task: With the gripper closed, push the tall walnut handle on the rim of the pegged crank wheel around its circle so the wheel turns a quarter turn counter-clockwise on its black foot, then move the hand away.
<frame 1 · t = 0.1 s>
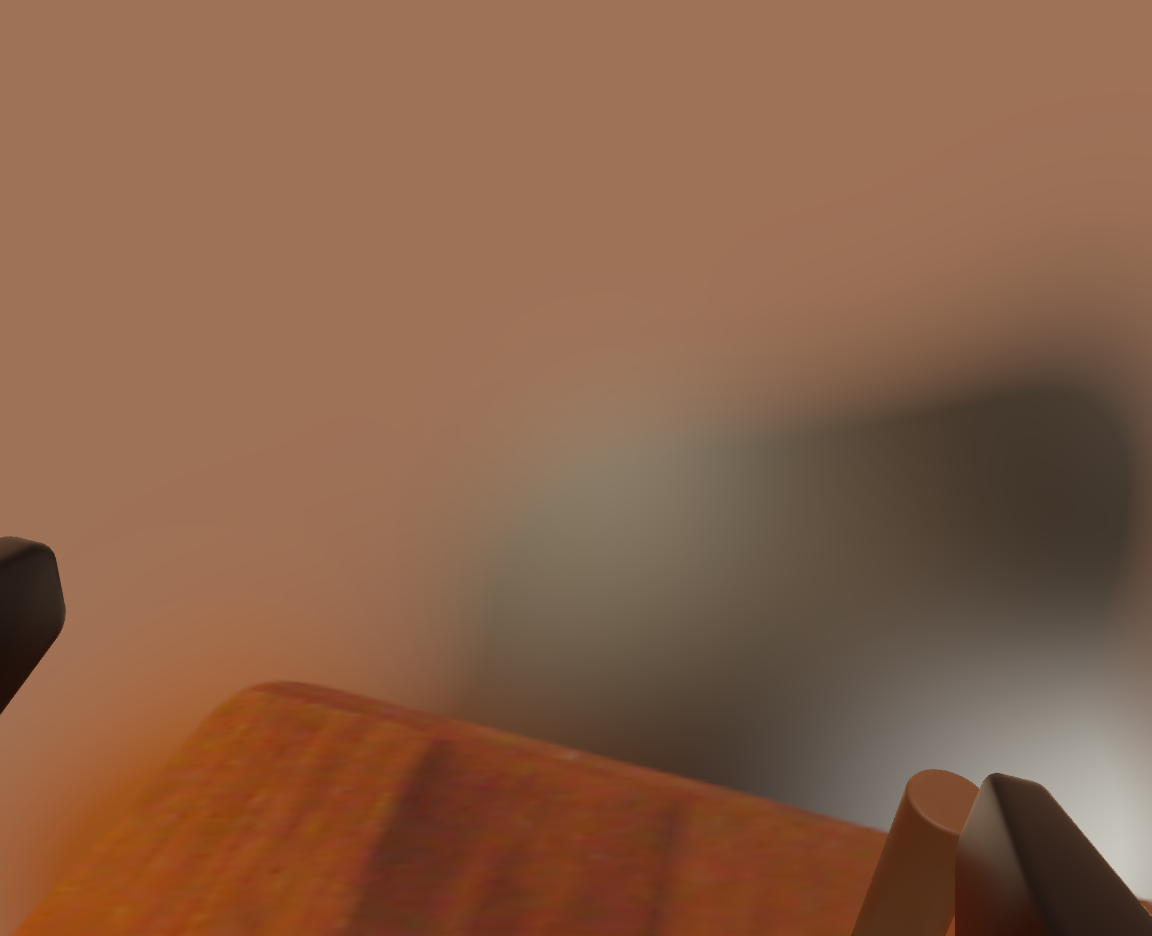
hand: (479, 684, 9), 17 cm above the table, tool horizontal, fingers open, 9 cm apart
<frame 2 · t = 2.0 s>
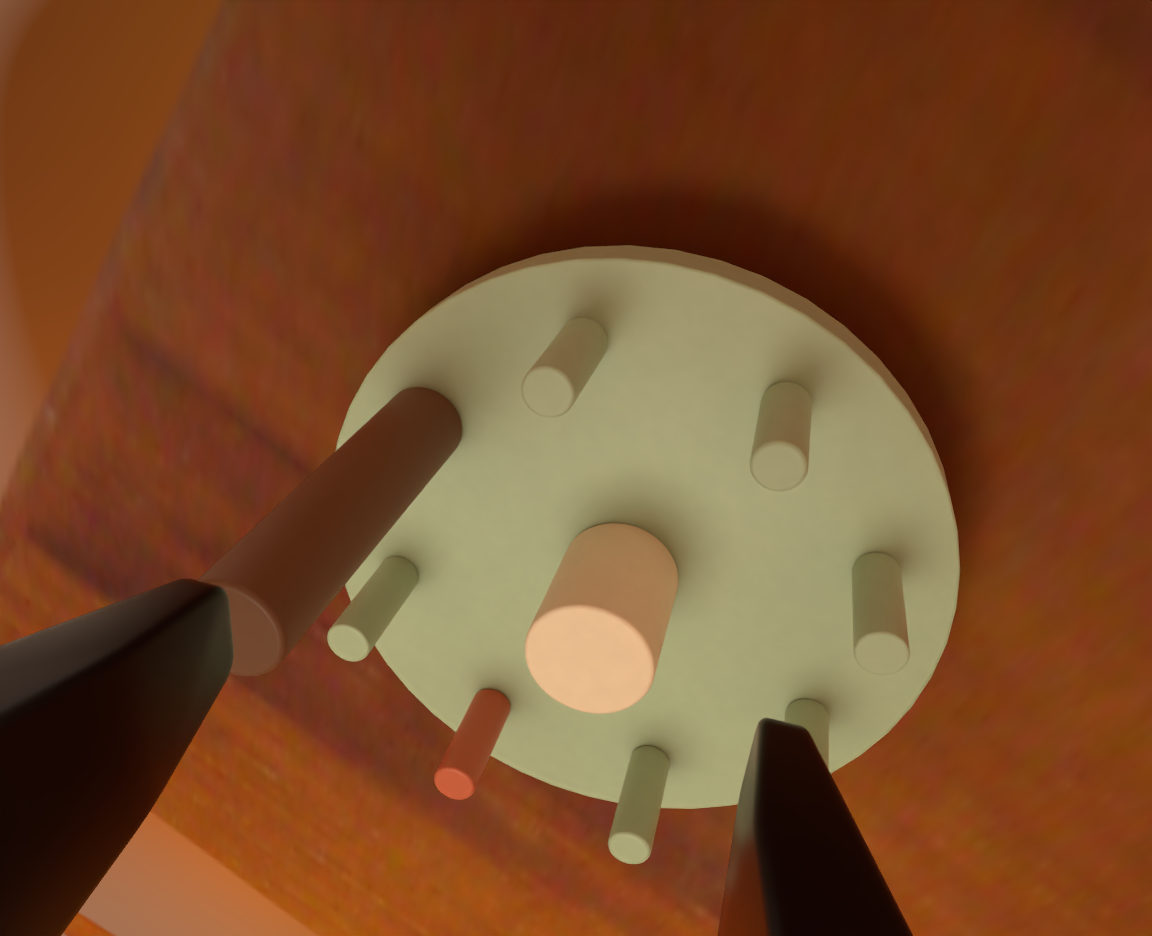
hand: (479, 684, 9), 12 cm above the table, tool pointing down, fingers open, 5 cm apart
pegged crank wheel: (587, 664, 17), point 5 cm above the table, hinge at 0.0°
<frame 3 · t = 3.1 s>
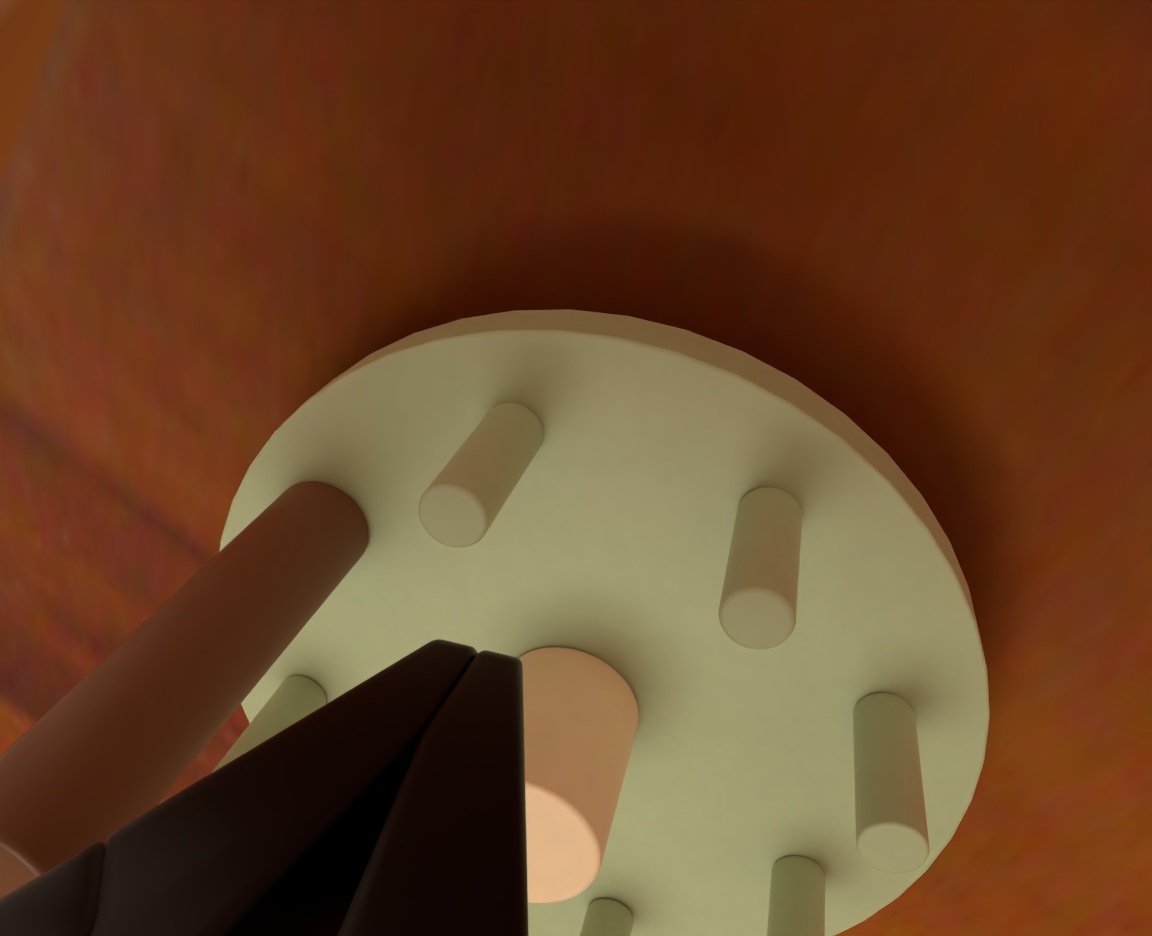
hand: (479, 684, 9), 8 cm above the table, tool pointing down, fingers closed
pegged crank wheel: (515, 848, 13), point 5 cm above the table, hinge at 0.0°
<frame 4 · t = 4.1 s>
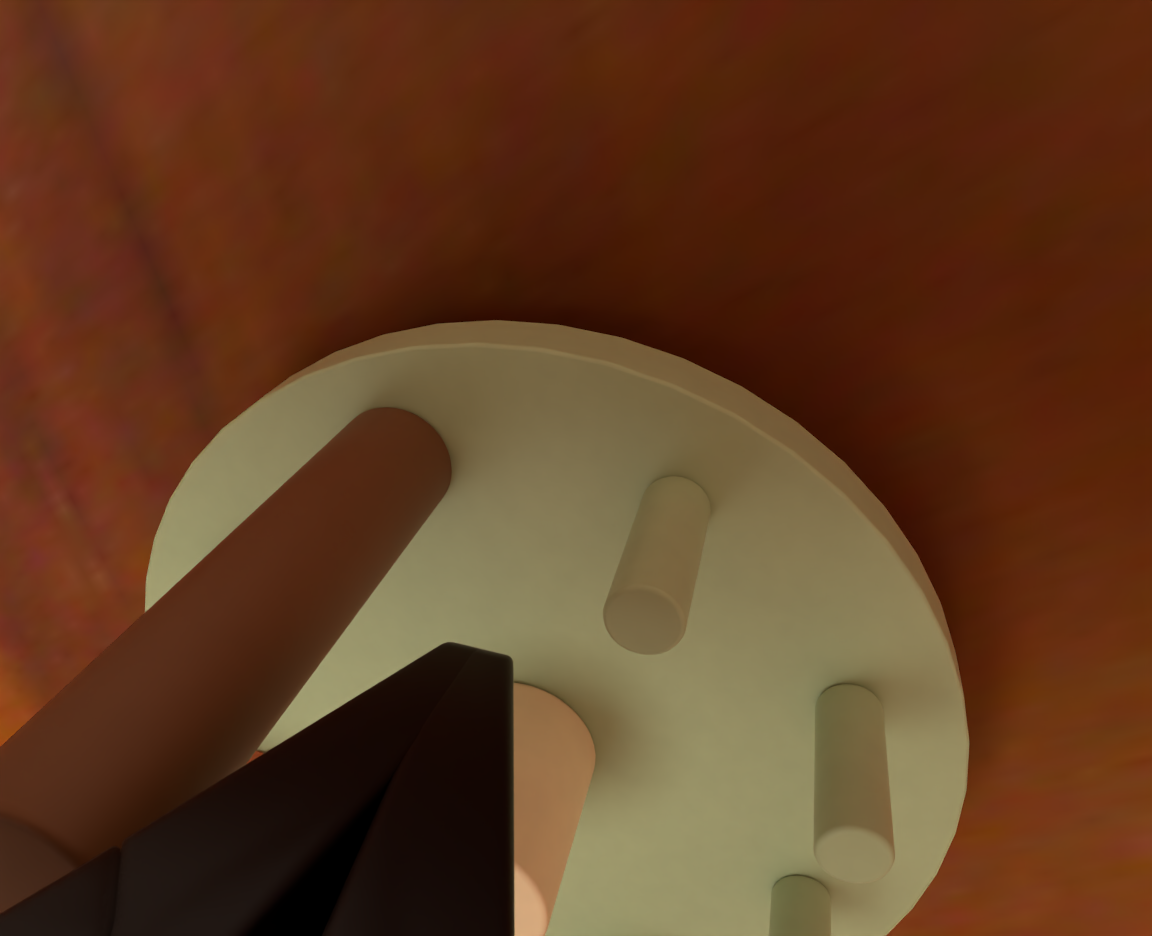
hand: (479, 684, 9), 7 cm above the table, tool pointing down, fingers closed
pegged crank wheel: (455, 906, 12), point 5 cm above the table, hinge at 4.1°, touching gripper
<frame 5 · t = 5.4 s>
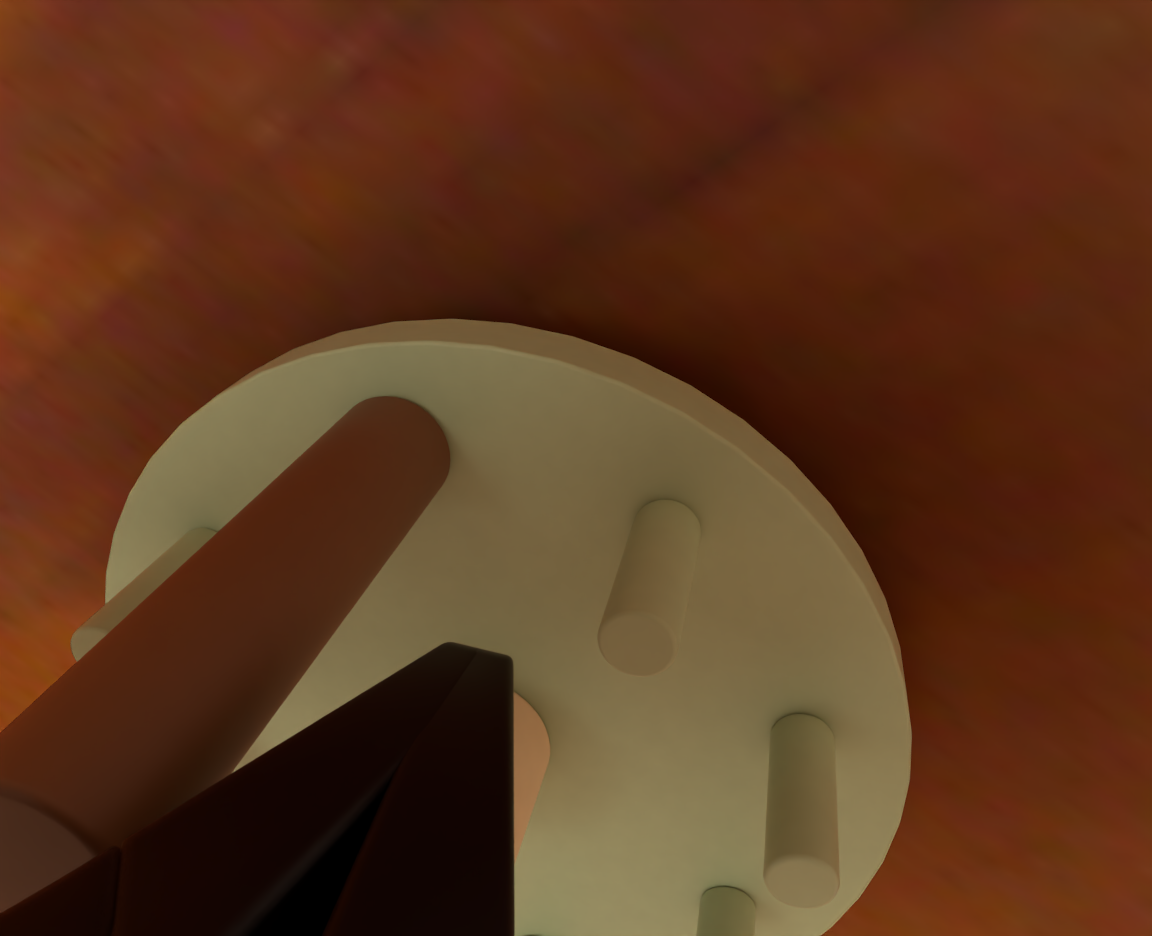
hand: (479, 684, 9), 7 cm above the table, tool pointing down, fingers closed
pegged crank wheel: (406, 894, 12), point 5 cm above the table, hinge at 63.2°, touching gripper
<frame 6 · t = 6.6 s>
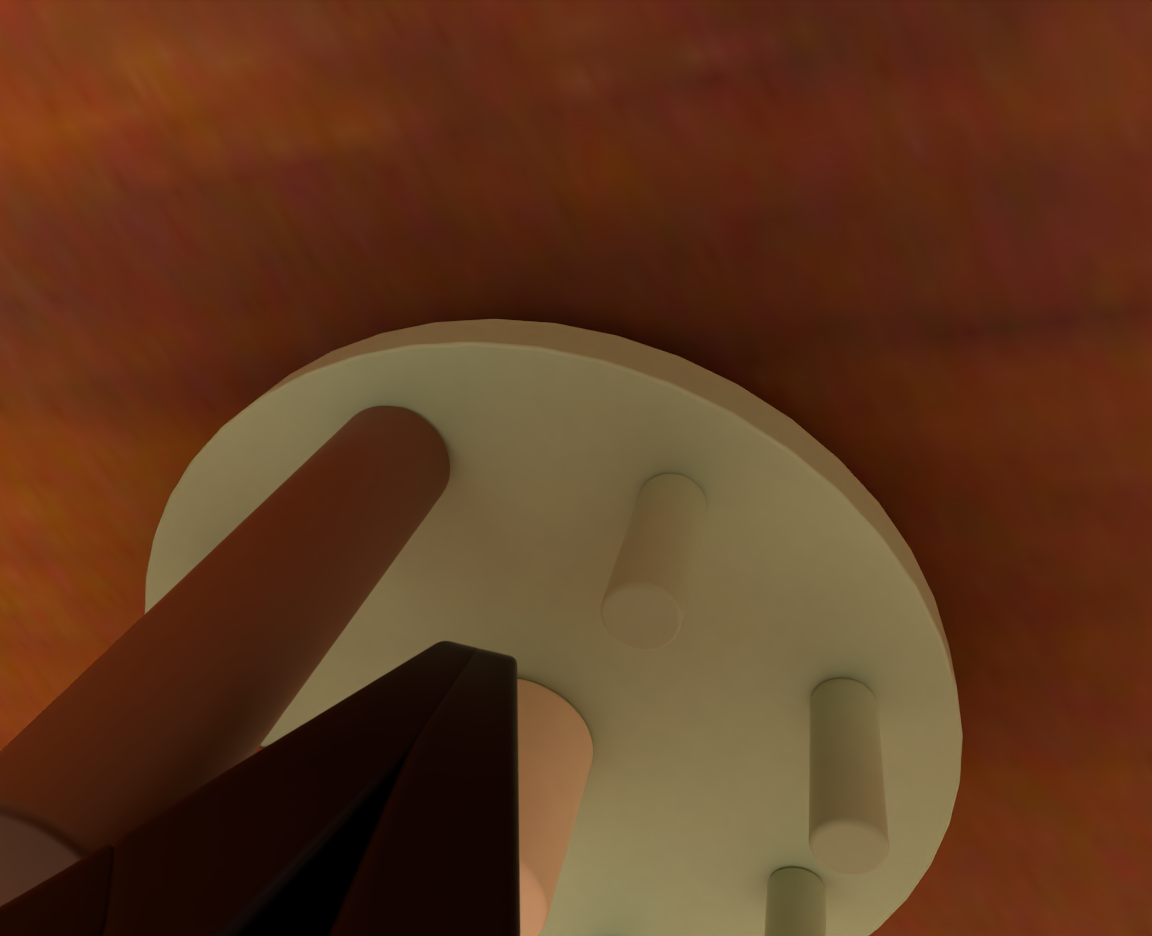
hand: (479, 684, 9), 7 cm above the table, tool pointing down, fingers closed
pegged crank wheel: (455, 899, 12), point 5 cm above the table, hinge at 96.4°, touching gripper
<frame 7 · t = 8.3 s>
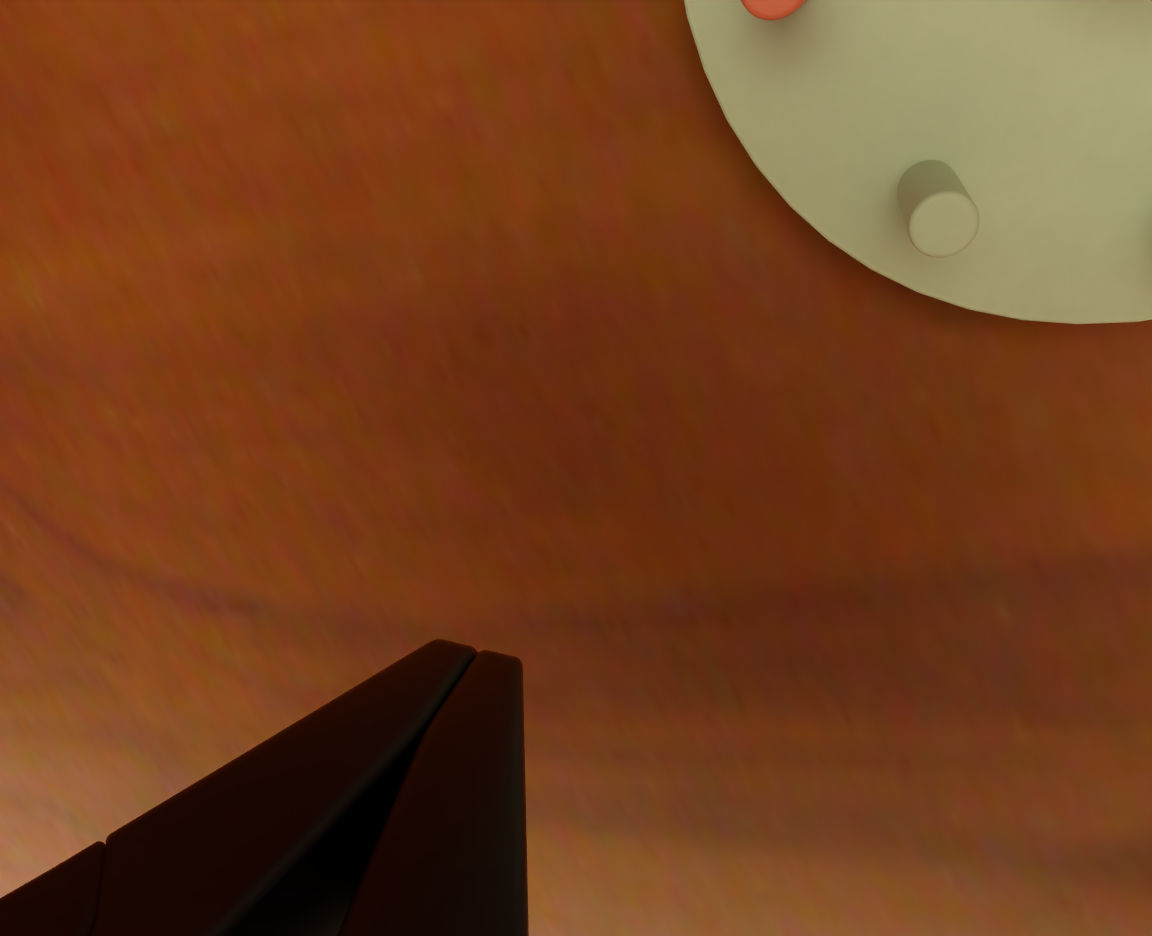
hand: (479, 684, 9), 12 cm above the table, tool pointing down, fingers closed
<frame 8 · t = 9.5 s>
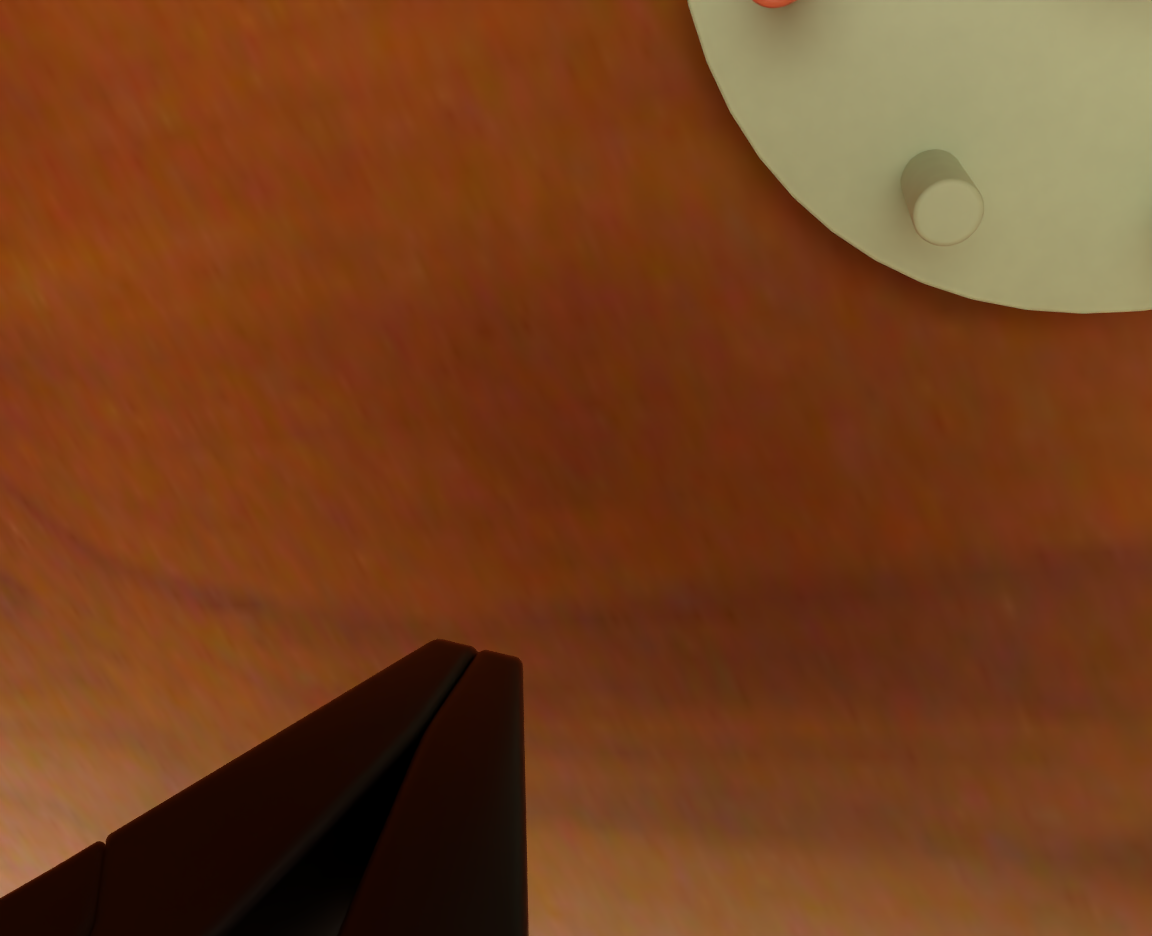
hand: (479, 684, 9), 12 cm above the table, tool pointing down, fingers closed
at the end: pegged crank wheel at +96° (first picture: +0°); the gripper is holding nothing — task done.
